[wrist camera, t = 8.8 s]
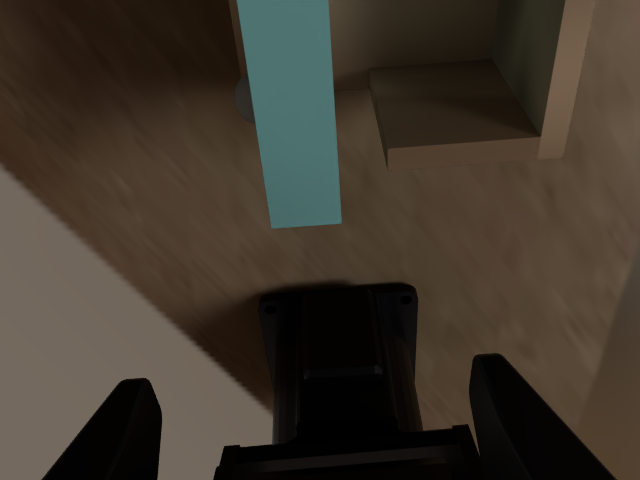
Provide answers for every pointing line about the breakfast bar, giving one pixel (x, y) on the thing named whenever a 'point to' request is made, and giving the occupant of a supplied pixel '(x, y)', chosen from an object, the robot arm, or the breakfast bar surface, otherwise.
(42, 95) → the breakfast bar surface
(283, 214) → the white and teal holder
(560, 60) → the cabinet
